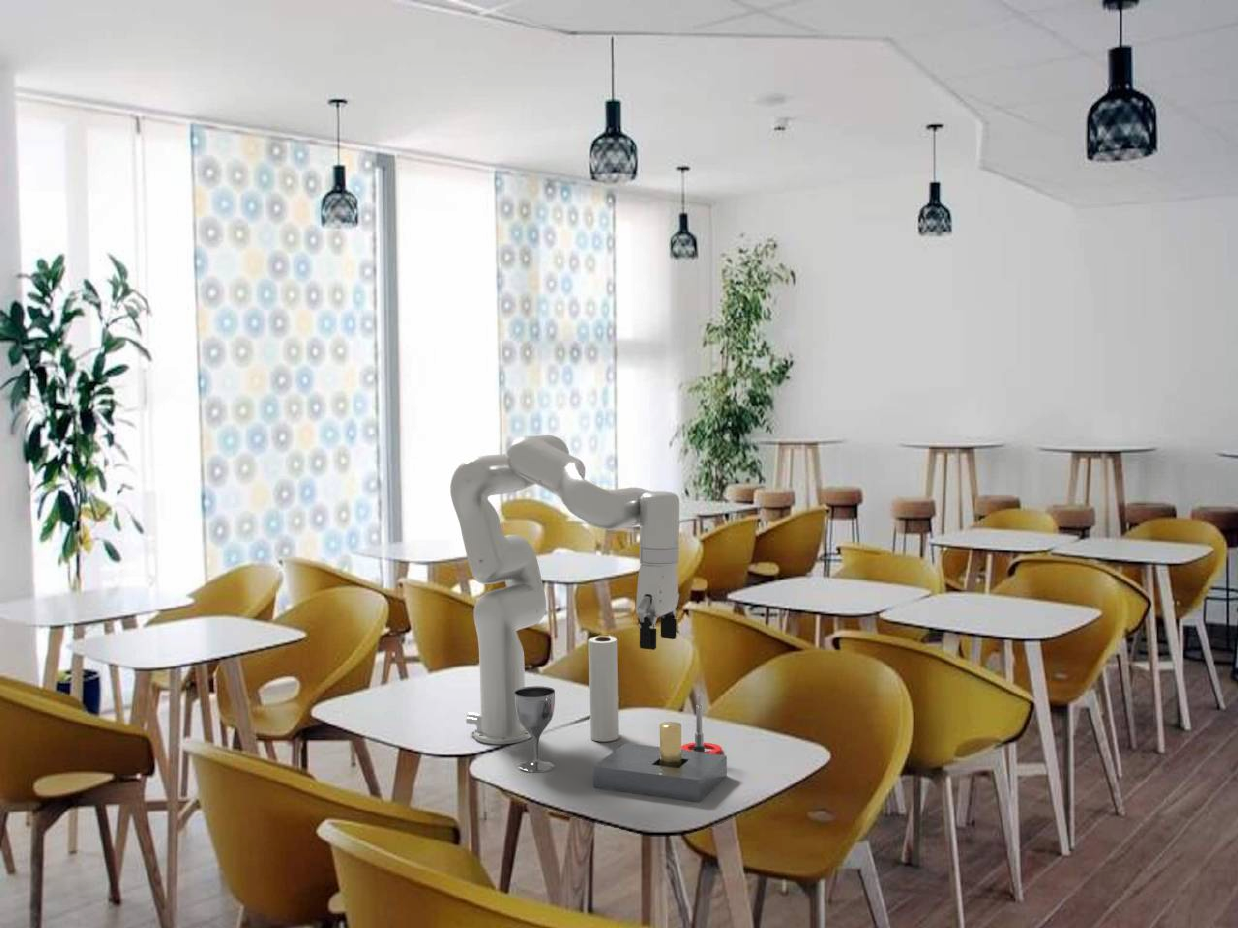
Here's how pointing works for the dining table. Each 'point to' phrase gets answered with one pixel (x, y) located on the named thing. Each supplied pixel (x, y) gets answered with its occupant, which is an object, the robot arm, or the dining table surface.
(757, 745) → the dining table surface
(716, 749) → the tow hook
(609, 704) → the paper towel roll
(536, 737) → the wine glass
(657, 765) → the grey block with hole
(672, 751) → the brass pin
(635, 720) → the dining table surface
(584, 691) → the dining table surface
